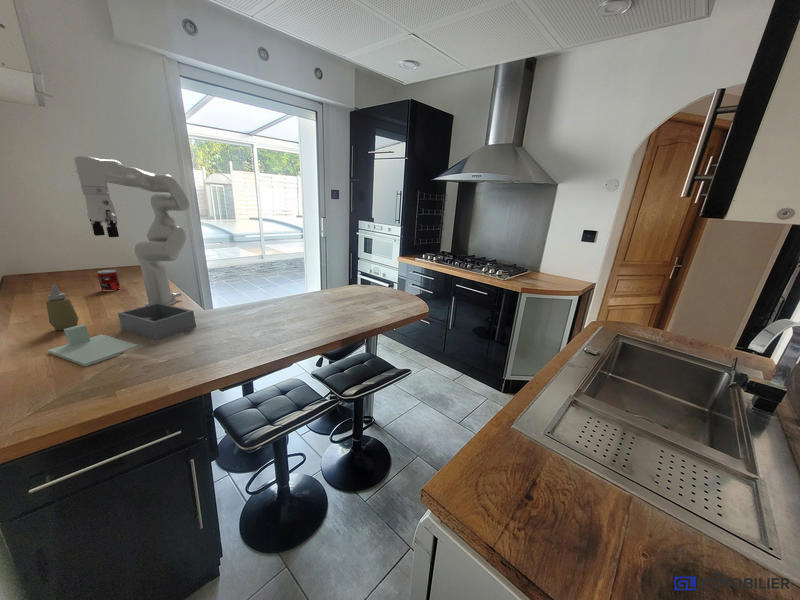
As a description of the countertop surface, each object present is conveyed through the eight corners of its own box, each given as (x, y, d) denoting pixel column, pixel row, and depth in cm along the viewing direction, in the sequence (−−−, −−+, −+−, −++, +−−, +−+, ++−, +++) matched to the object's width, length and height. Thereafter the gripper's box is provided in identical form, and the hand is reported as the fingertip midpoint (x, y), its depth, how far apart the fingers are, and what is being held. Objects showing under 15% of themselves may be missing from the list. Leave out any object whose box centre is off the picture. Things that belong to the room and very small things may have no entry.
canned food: (98, 290, 174) (93, 271, 171) (114, 287, 182) (110, 269, 178) (108, 292, 172) (103, 273, 169) (123, 288, 180) (119, 270, 176)
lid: (103, 338, 119) (98, 319, 117) (139, 349, 111) (134, 329, 109) (49, 354, 105) (42, 333, 103) (85, 368, 98) (79, 346, 96)
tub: (162, 319, 137) (158, 302, 135) (196, 328, 129) (193, 310, 127) (122, 331, 124) (117, 313, 121) (158, 342, 116) (153, 322, 113)
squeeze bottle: (46, 332, 120) (31, 288, 115) (61, 325, 128) (48, 283, 122) (72, 331, 123) (58, 287, 117) (85, 323, 130) (73, 282, 125)
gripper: (120, 192, 120) (130, 237, 125) (95, 191, 126) (105, 234, 131) (96, 191, 113) (108, 238, 119) (70, 190, 120) (82, 235, 125)
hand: (106, 236), depth 125 cm, fingers open, 9 cm apart
